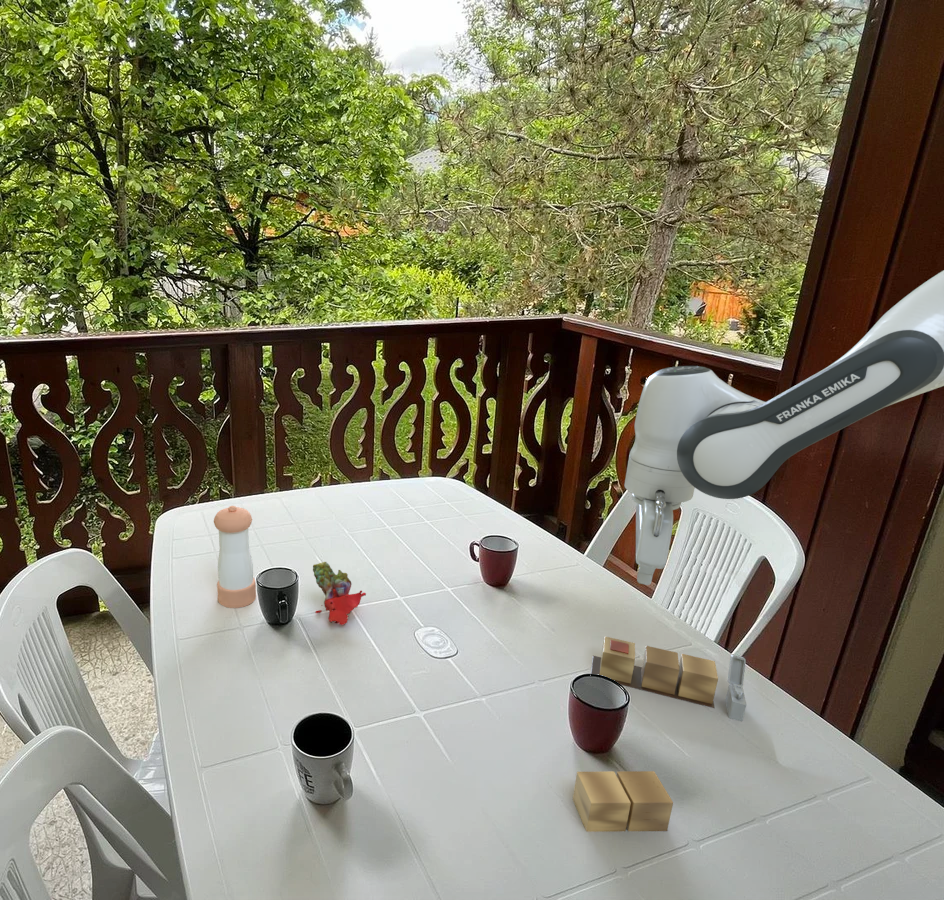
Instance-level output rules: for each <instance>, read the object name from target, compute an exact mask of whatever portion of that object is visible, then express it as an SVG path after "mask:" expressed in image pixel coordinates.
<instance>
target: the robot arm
mask: <svg viewBox="0 0 944 900" xmlns="http://www.w3.org/2000/svg"><path fill="white" fill-rule="evenodd" d="M942 387H944V269H943V270H941V271H940V272H938V273H937V274H935V275H934V276H932V277H931V278H929V279H928V280H927V281H924V282H923V283H922V284H921V285H918V287H916V288H915V289H913V290H912V291H910V293H908V294H907V295H906V296H904V297H903V298H902V299H901V300H899V301H897V303H896V304H895V305H893V306H892V307H891V308H890V309H889V310H887V311H886V312H885V313H884V314H883V315H882V316H881V317H880V318H879V319H878V320H877V321H876V322H875V324H873V326H872V327H871V328H870V329H869V331H868V332H866V334H865V335H864V336H863V337H862V338H861V339H860V340H859V341H858V342H857V343H856V344H855V345H854V346H852V348H850V349H849V350H848V351H847V352H846V353H845V354H844V355H842V356H841V357H840V358H838V359H837V360H835V361H834V362H832V363H831V364H830V365H828V366H827V367H825V368H823V369H822V370H819V371H817V372H816V373H815V374H813V375H811V376H809V377H808V378H806V379H804V380H802V381H800V382H799V383H797V384H796V385H794V386H792V387H790V388H789V389H786V390H785V391H783V392H781V393H779V394H778V395H776V396H774V397H773V398H771V399H768V400H767V401H764V400H761V399H758V398H756V397H753V396H751V395H749V394H746V393H744V392H742V391H741V390H738V389H736V388H734V387H733V386H731V385H730V384H728V383H727V382H725V381H724V380H722V379H721V378H719V376H718V375H717V374H716V373H715V372H714V371H713V370H712V369H711V368H708V367H706V366H700V365H699V366H698V365H679V366H678V365H677V366H672V367H665V368H662V369H659V370H657V371H655V372H654V373H652V374H651V375H649V377H648V378H647V379H646V381H645V383H644V386H643V388H642V390H641V395H640V398H639V400H638V401H639V402H638V406H637V409H636V415H635V420H634V433H635V435H634V437H635V438H634V443H633V445H632V447H631V449H630V451H629V455H628V461H627V467H626V473H625V479H624V484H623V485H624V489H626V491H628V492H630V494H631V499H632V500H633V502H634V503H635V563H636V564H637V565H638V569H637V575H636V581H637V583H638V584H641V585H645V586H650V585H651V584H652V582H653V576H654V573H655V572H656V570H657V569H659V570H662V569H664V568H665V567H666V565H667V563H668V558H669V557H668V555H669V551H670V546H671V540H672V535H673V534H672V533H673V527H674V511H675V510H678V509H679V508H681V506H682V503H685V502H689V501H691V500H692V499H693V497H694V493H695V489H696V490H697V491H699V492H701V493H703V494H705V495H707V496H710V497H713V498H716V499H722V500H737V499H743V498H746V497H748V496H751V495H753V494H755V493H758V491H759V490H761V489H762V488H764V487H765V485H766V484H767V483H768V482H769V481H770V480H771V478H772V477H773V476H774V475H775V474H776V472H777V471H778V470H779V468H780V467H781V466H782V465H783V464H784V463H785V462H787V460H789V459H790V458H791V457H793V456H795V455H796V454H798V453H799V452H800V451H803V450H805V449H806V448H808V447H809V446H812V445H813V444H816V443H817V442H820V441H822V440H823V439H825V438H827V437H829V436H831V435H833V434H835V433H838V432H839V431H841V430H843V429H845V428H846V427H849V426H850V425H852V424H854V423H857V422H859V421H860V420H863V419H864V418H867V417H868V416H871V415H872V414H874V413H875V412H876V413H877V412H878V411H880V410H882V409H884V408H886V407H889V406H893V405H894V404H897V403H900V402H902V401H905V400H907V399H910V398H913V397H916V396H919V395H921V394H924V393H928V392H930V391H933V390H937V389H938V388H942Z"/></svg>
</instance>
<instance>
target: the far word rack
mask: <svg viewBox="0 0 944 900" xmlns="http://www.w3.org/2000/svg"><path fill="white" fill-rule="evenodd" d="M642 659H643V660H642V664H641V666H639V665H635V664H634V668H633V674H632V680H631V684H629V683H625V682H621V681H617V680H615V681H616V682H618V683H619V684H620V686H624V687H628V688H632V689H635V690H639V691H643V692H648V693H650V694H651V693H652V694H655V695H660V696H664V697H667V698H671V699H676V700H680V701H683V702H687V703H692V704H696V705H699V706H703V707H707V708H710V709H716V708H715V702H714V701H715V700H714V699H715V695H716V690H717V685H718V681H719V677H718V669H717V666H716V660H712V659H707V658H704V657H698V656H693V655H690V654H685V653H681V654H680V659H679V653H678V652H676V651H672V650H669V649H663V648H659V647H654V646H650V645H645V648H644V653H643V657H642ZM600 664H601V656H598V655H597V656H596V655H592V660H591V668H590V675H591V674H599V675H600ZM612 680H613V679H612ZM619 684H618V685H619Z"/></svg>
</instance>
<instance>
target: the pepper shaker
mask: <svg viewBox="0 0 944 900" xmlns="http://www.w3.org/2000/svg"><path fill="white" fill-rule="evenodd" d="M252 522H253V517H252V514H251V513H250V511H249V510H247V509H246V508H244V507H239V506H236V505H230V506H228V507H225V508H223V509H220V510H218V512H217V513H216V514H215V515H214V518H213V525H214V527H215V528H216V529H217V530H218V544H219V551H218V560H217V575H218V580H217V583H216V587H217V588H216V591H217V601H218V603H219V604H220V605H221V606H223V607H224V608H230V609H239V608H244V607H247V606H249V605H251V604H253V603H254V602H255V601H256V598H257V585H256V579H255V577H254V562H253V558H252V553H251V548H250V534H249V528H250V527H251V525H252Z"/></svg>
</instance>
